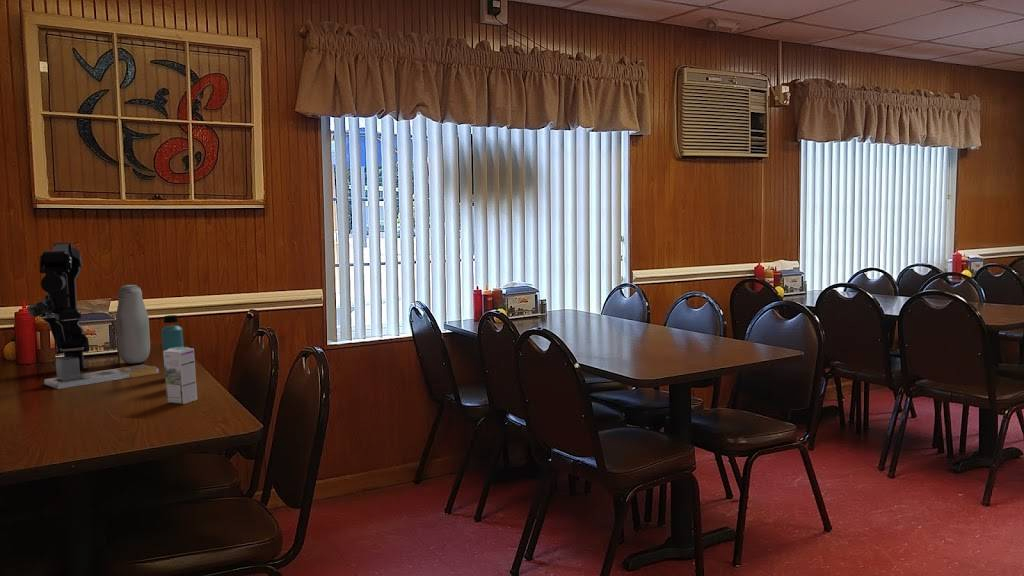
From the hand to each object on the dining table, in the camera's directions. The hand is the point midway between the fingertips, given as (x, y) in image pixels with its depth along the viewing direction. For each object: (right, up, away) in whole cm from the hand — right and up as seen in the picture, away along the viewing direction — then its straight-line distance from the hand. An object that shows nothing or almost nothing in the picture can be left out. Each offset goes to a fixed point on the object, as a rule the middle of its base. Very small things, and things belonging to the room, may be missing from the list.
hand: (61, 340), depth 241 cm
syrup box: (+51, -15, -31) cm, 61 cm away
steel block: (+3, -13, -2) cm, 14 cm away
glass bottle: (+7, -10, +32) cm, 35 cm away
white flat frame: (+10, -12, +6) cm, 17 cm away
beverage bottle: (+34, -12, +3) cm, 37 cm away
